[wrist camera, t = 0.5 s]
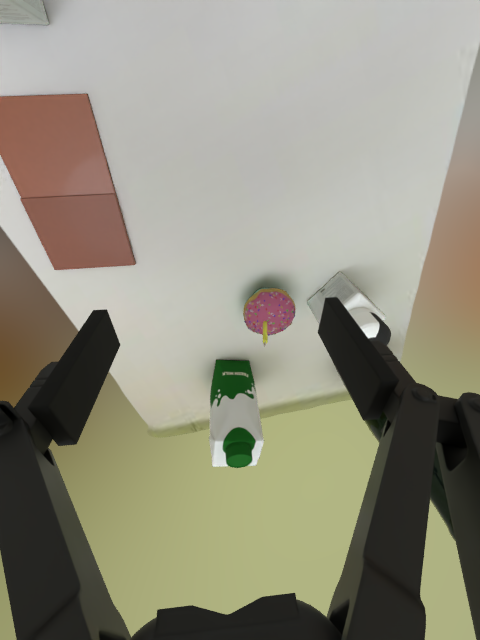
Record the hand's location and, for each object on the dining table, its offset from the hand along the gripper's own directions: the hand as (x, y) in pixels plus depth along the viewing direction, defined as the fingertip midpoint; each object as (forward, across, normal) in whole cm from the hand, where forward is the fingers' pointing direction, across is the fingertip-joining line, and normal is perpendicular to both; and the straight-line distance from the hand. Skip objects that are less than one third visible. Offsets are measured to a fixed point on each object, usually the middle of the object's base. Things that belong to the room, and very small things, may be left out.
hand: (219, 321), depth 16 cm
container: (+26, +21, -15) cm, 37 cm away
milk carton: (+26, +1, -33) cm, 42 cm away
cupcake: (+26, +8, -14) cm, 31 cm away
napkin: (+26, -19, +3) cm, 33 cm away
